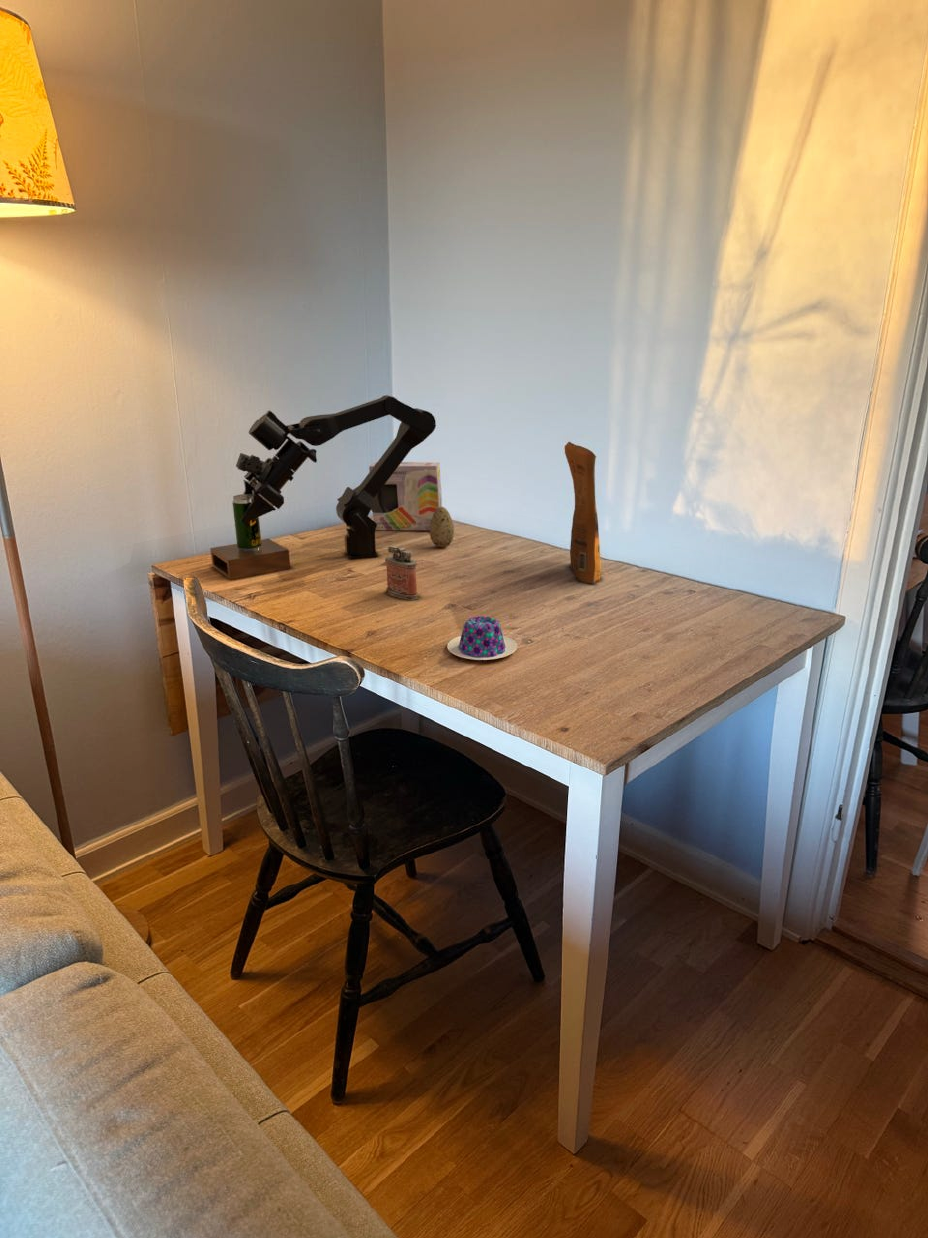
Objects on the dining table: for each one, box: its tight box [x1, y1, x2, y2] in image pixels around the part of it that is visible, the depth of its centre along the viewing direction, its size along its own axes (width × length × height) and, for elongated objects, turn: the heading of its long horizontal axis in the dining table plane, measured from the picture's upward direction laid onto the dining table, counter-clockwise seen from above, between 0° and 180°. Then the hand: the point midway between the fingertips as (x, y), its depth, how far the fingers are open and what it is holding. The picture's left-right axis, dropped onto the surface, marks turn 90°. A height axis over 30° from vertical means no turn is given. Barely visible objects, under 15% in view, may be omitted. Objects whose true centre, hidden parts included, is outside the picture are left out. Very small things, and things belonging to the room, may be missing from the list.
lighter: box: [384, 545, 419, 601], centre depth 167 cm, size 8×3×10 cm, turn 47°
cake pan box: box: [368, 461, 443, 531], centre depth 216 cm, size 19×5×18 cm, turn 80°
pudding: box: [446, 615, 518, 661], centre depth 141 cm, size 12×12×5 cm
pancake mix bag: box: [564, 441, 602, 585], centre depth 177 cm, size 7×19×28 cm, turn 3°
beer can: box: [231, 493, 262, 552], centre depth 184 cm, size 5×5×12 cm
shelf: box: [210, 538, 291, 581], centre depth 187 cm, size 14×12×4 cm
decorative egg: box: [429, 506, 455, 548], centre depth 201 cm, size 6×6×10 cm
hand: (239, 517), depth 183 cm, fingers open, 9 cm apart
